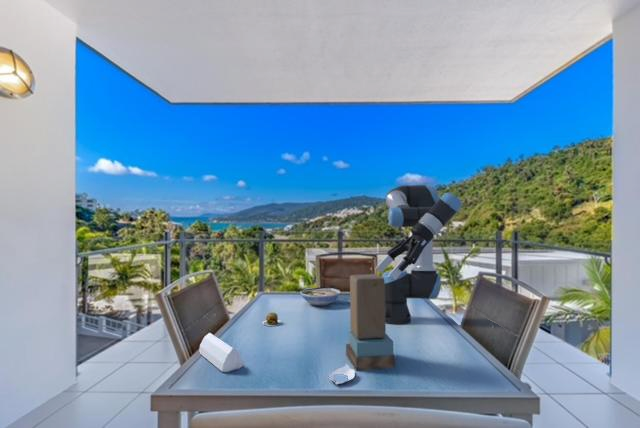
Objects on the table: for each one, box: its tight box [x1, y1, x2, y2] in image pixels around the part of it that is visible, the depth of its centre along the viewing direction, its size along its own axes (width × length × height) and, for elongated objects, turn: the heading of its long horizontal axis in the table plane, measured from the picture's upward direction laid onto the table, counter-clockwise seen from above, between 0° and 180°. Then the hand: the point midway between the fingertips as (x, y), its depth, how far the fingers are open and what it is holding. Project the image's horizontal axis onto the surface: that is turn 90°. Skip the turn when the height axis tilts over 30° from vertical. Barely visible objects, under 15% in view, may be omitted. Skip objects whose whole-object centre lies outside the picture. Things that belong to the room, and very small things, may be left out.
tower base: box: [345, 343, 396, 372], centre depth 119 cm, size 13×13×4 cm
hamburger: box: [262, 312, 282, 327], centre depth 162 cm, size 12×12×6 cm
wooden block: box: [349, 273, 387, 339], centre depth 121 cm, size 10×10×20 cm
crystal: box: [199, 332, 244, 373], centre depth 121 cm, size 7×7×24 cm
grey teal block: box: [348, 330, 394, 357], centre depth 120 cm, size 12×12×4 cm
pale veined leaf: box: [328, 363, 356, 385], centre depth 106 cm, size 8×12×2 cm, turn 159°
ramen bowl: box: [297, 285, 341, 307], centre depth 198 cm, size 25×23×8 cm
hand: (384, 273), depth 121 cm, fingers open, 13 cm apart
